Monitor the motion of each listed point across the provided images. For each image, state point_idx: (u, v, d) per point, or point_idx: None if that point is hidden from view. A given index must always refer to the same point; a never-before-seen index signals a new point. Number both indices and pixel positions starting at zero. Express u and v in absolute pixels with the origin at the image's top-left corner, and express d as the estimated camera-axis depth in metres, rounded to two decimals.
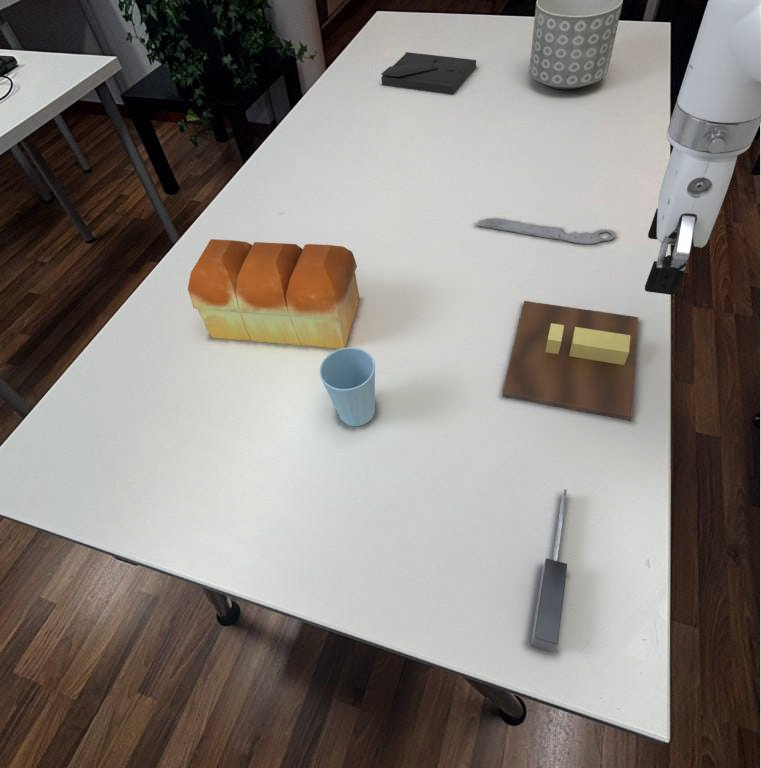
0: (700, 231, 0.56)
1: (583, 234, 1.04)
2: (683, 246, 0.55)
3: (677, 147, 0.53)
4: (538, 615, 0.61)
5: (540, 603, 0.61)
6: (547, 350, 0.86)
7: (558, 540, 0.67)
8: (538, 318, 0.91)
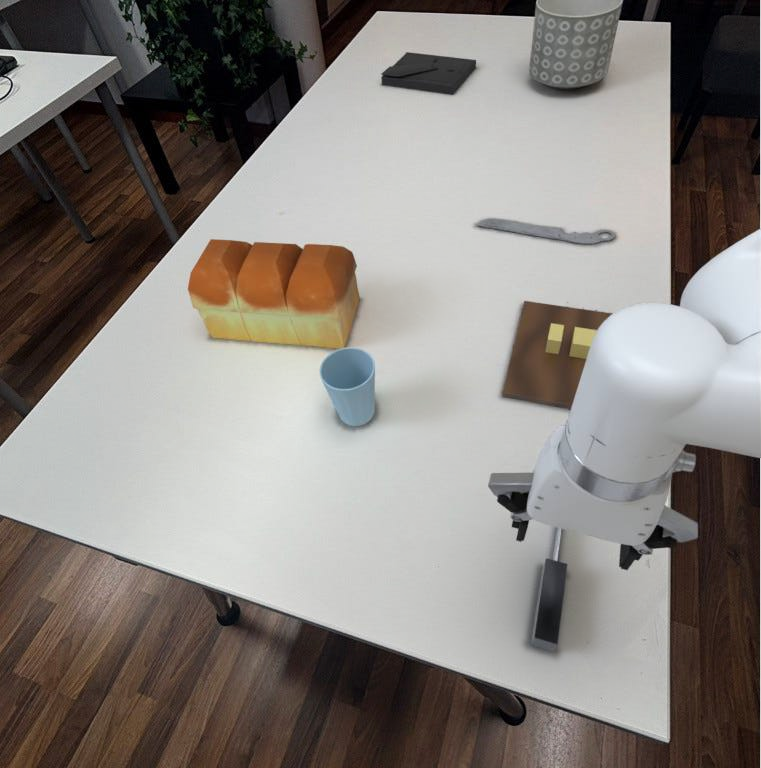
0: None
1: (583, 234, 1.04)
2: (690, 526, 0.46)
3: (643, 499, 0.40)
4: (538, 615, 0.61)
5: (540, 603, 0.61)
6: (547, 350, 0.86)
7: (558, 540, 0.67)
8: (538, 318, 0.91)
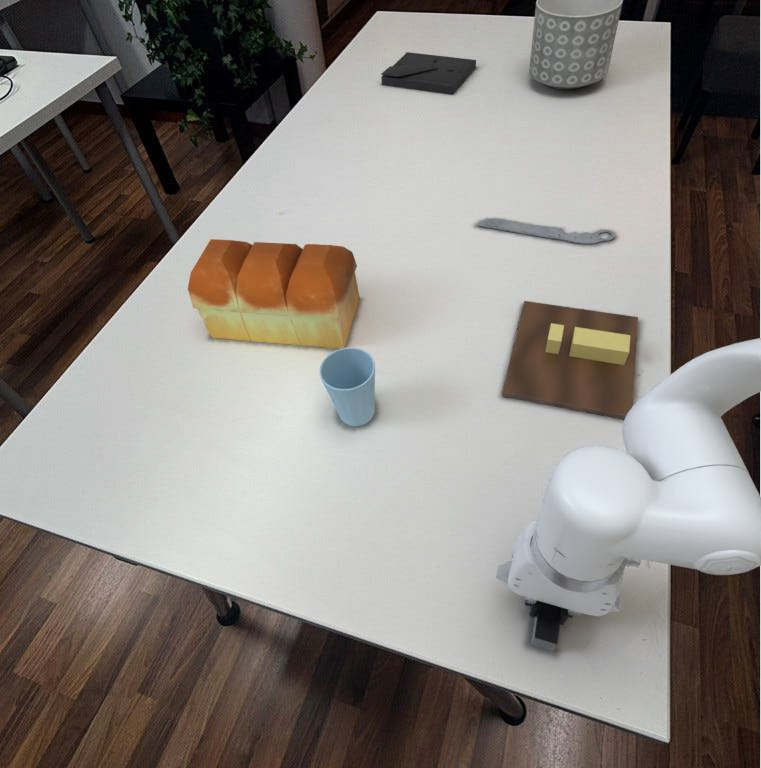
0: None
1: (583, 234, 1.04)
2: (618, 603, 0.56)
3: (599, 589, 0.48)
4: (538, 615, 0.61)
5: (540, 603, 0.61)
6: (547, 350, 0.86)
7: None
8: (538, 318, 0.91)
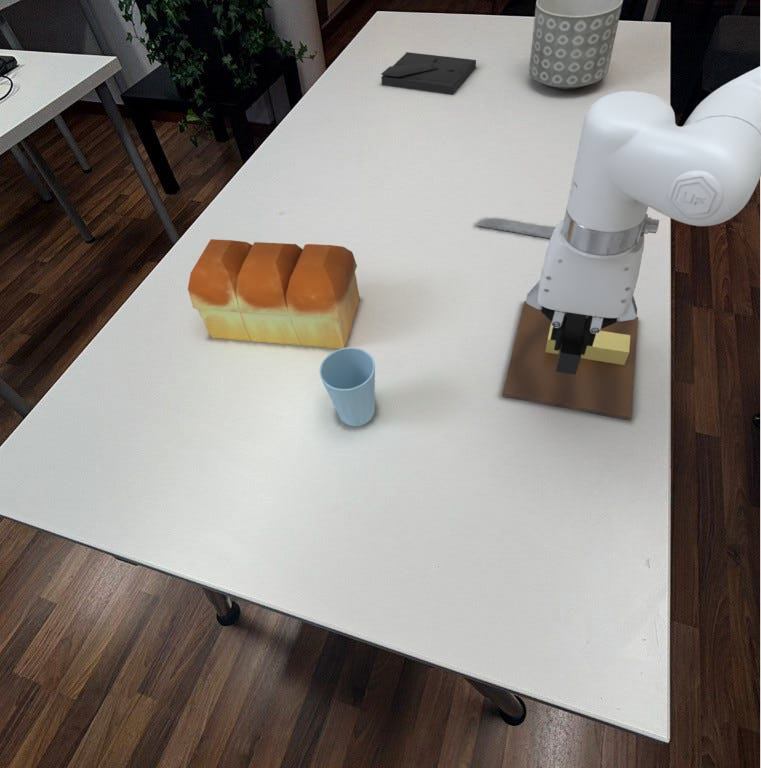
0: None
1: None
2: (635, 309, 0.64)
3: (622, 255, 0.56)
4: (563, 338, 0.68)
5: None
6: (547, 350, 0.86)
7: None
8: (538, 318, 0.91)
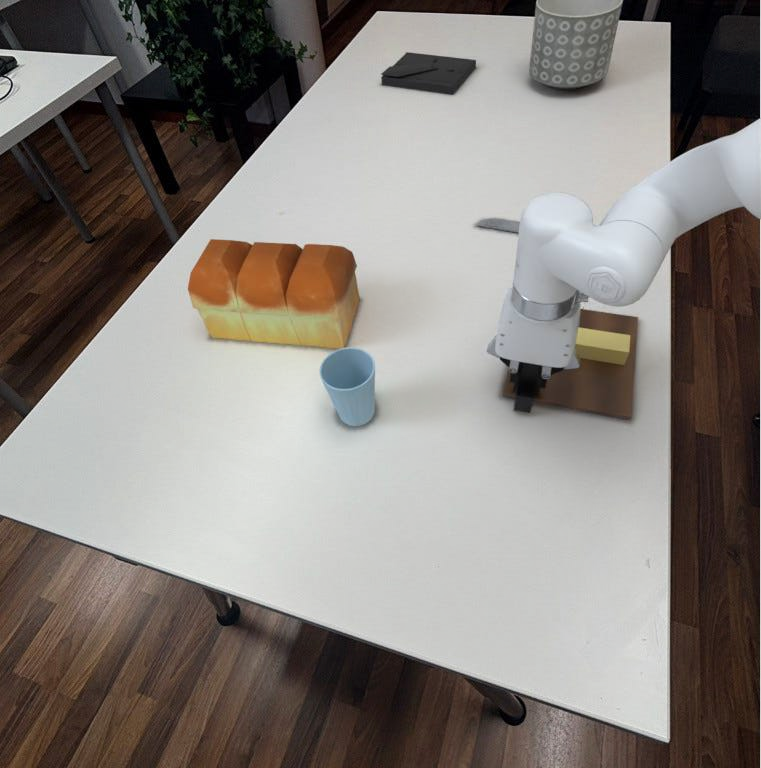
0: None
1: None
2: (578, 359, 0.75)
3: (560, 320, 0.67)
4: (519, 382, 0.79)
5: (521, 375, 0.80)
6: None
7: None
8: None
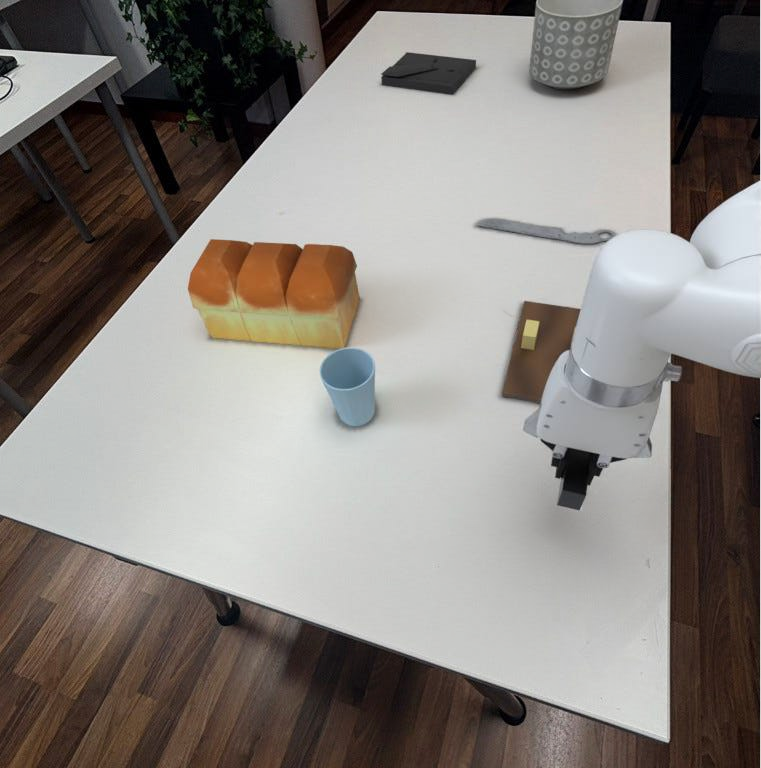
0: None
1: (583, 234, 1.04)
2: (650, 447, 0.55)
3: (637, 405, 0.47)
4: (565, 471, 0.59)
5: None
6: (523, 346, 0.87)
7: None
8: (538, 318, 0.91)
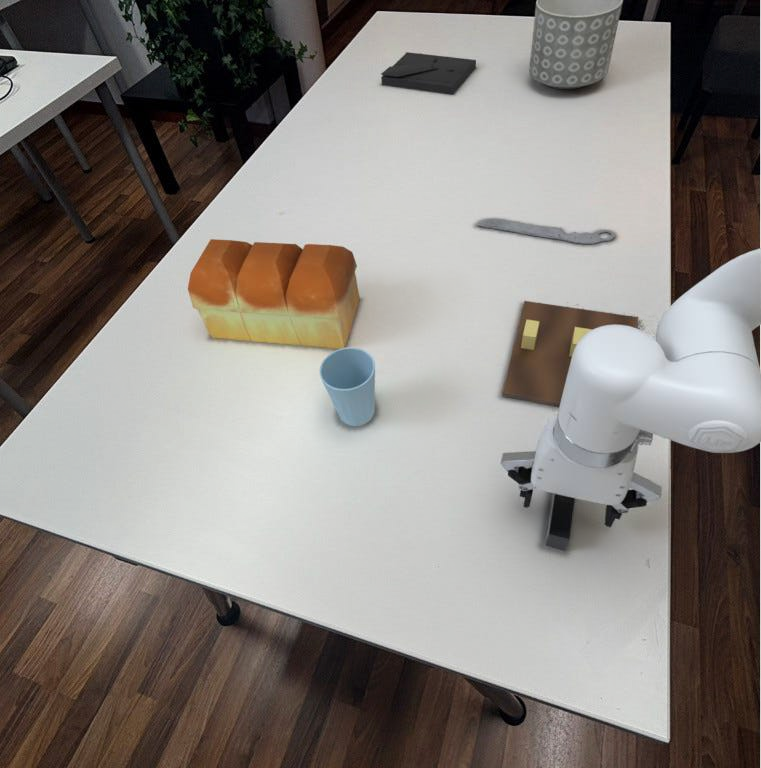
0: None
1: (583, 234, 1.04)
2: (655, 488, 0.60)
3: (615, 466, 0.54)
4: (552, 516, 0.68)
5: (553, 506, 0.68)
6: (523, 346, 0.87)
7: None
8: (538, 318, 0.91)
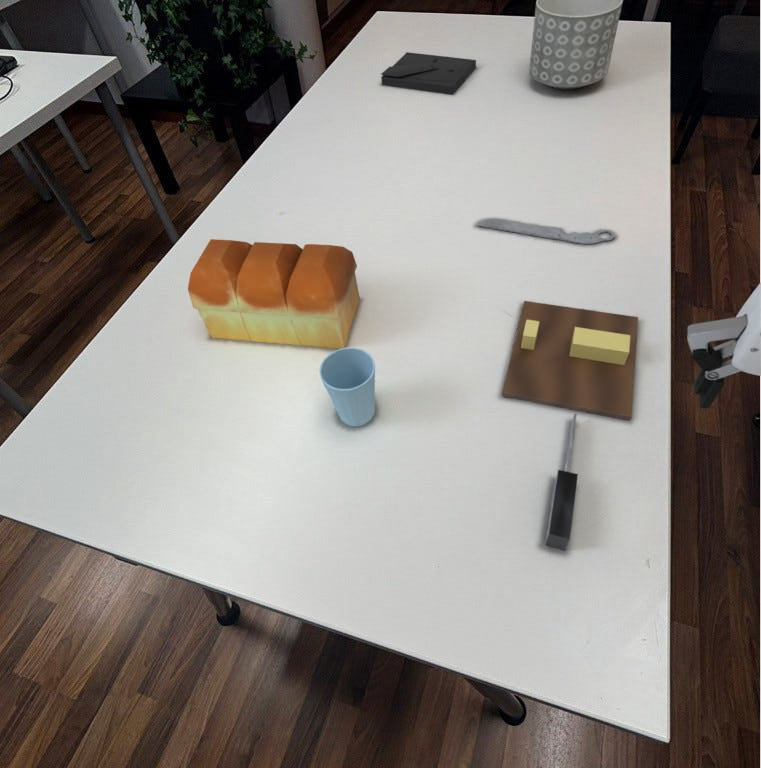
0: None
1: (583, 234, 1.04)
2: None
3: None
4: (552, 516, 0.68)
5: (553, 506, 0.68)
6: (523, 346, 0.87)
7: (569, 456, 0.73)
8: (538, 318, 0.91)
